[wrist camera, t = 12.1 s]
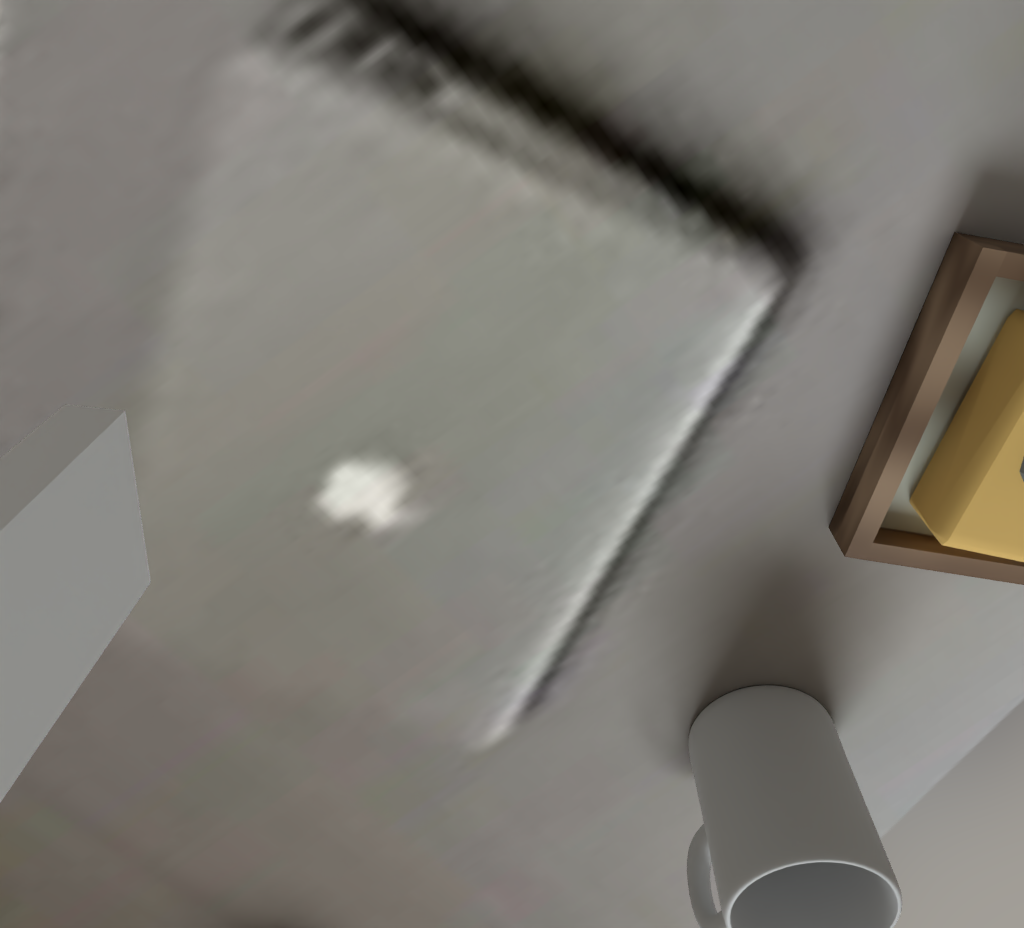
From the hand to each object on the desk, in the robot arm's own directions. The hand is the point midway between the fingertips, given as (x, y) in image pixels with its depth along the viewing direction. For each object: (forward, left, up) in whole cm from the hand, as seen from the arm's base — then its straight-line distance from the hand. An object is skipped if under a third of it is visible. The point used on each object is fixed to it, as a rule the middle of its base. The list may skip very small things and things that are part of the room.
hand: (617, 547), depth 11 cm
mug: (+31, +17, -26) cm, 44 cm away
